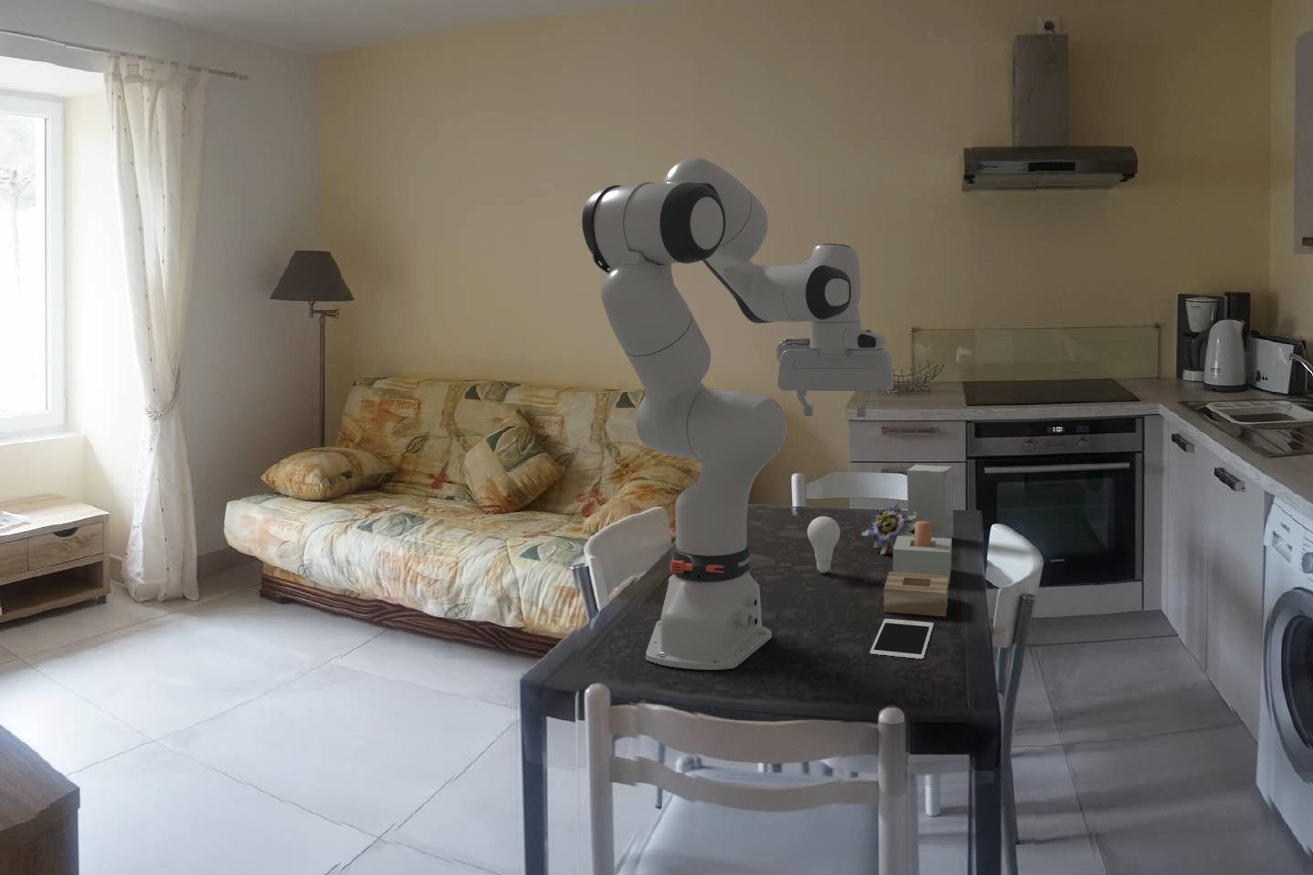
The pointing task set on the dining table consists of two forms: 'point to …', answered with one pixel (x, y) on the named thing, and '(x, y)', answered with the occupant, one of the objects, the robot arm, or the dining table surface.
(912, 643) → the cell phone
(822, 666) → the dining table surface
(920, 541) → the pin
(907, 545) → the socket
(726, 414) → the robot arm
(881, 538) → the passion flower
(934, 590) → the mount
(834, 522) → the lightbulb
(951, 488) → the skincare box
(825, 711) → the dining table surface
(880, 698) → the dining table surface
